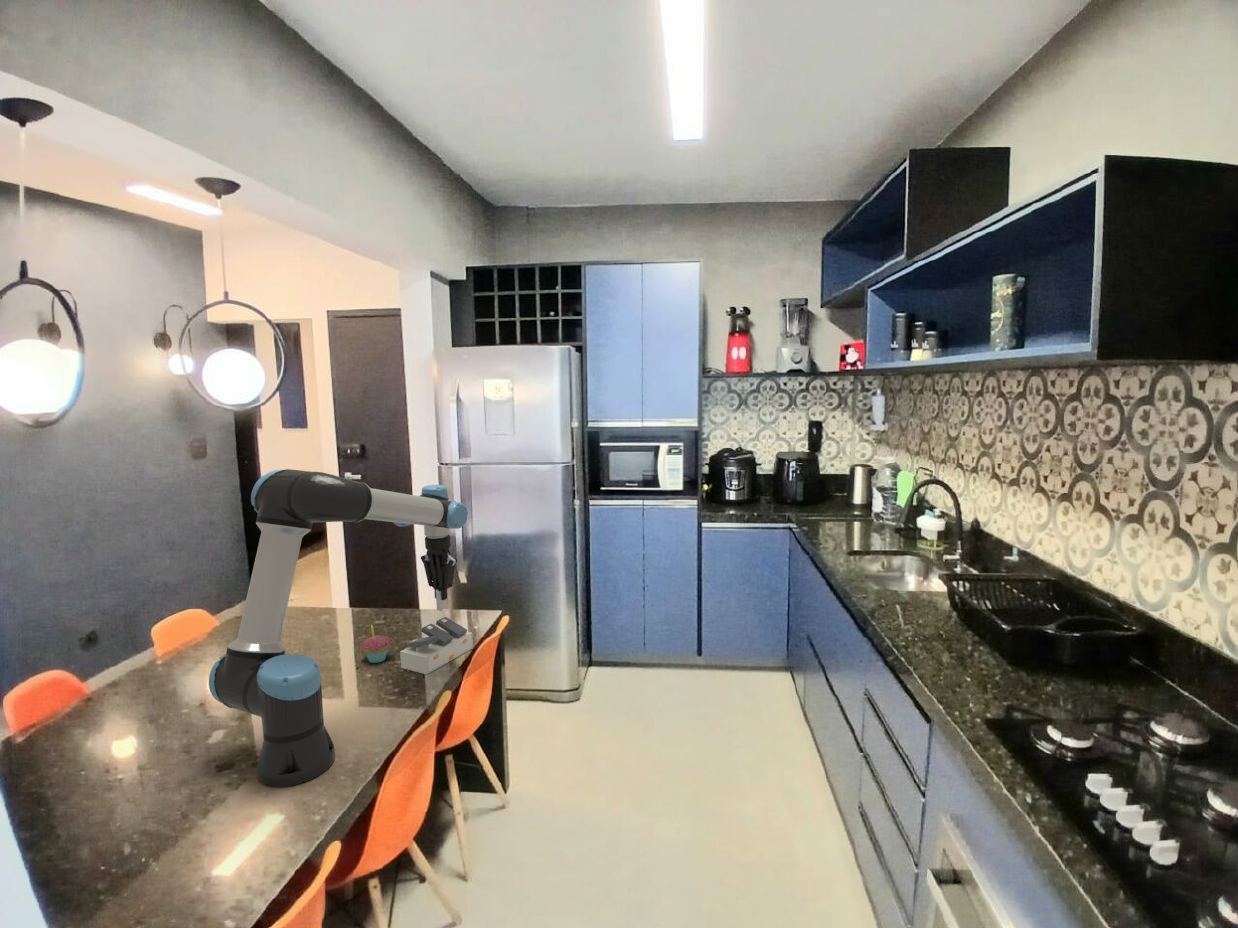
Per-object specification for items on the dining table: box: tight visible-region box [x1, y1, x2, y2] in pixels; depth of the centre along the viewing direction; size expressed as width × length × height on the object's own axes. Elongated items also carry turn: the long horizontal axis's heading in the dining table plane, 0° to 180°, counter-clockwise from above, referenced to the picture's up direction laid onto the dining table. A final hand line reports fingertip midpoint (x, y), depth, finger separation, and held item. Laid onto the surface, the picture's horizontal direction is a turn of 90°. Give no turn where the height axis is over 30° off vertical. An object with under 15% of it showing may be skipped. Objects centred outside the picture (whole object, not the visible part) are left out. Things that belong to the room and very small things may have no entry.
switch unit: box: [399, 629, 474, 675], centre depth 190 cm, size 20×10×6 cm, turn 153°
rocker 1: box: [405, 636, 438, 648], centre depth 184 cm, size 4×9×1 cm, turn 63°
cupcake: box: [360, 623, 392, 664], centre depth 189 cm, size 9×8×12 cm
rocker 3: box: [435, 616, 468, 638], centre depth 195 cm, size 4×9×1 cm, turn 63°
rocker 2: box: [420, 623, 453, 645], centre depth 190 cm, size 4×9×1 cm, turn 63°
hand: (441, 609), depth 196 cm, fingers closed
